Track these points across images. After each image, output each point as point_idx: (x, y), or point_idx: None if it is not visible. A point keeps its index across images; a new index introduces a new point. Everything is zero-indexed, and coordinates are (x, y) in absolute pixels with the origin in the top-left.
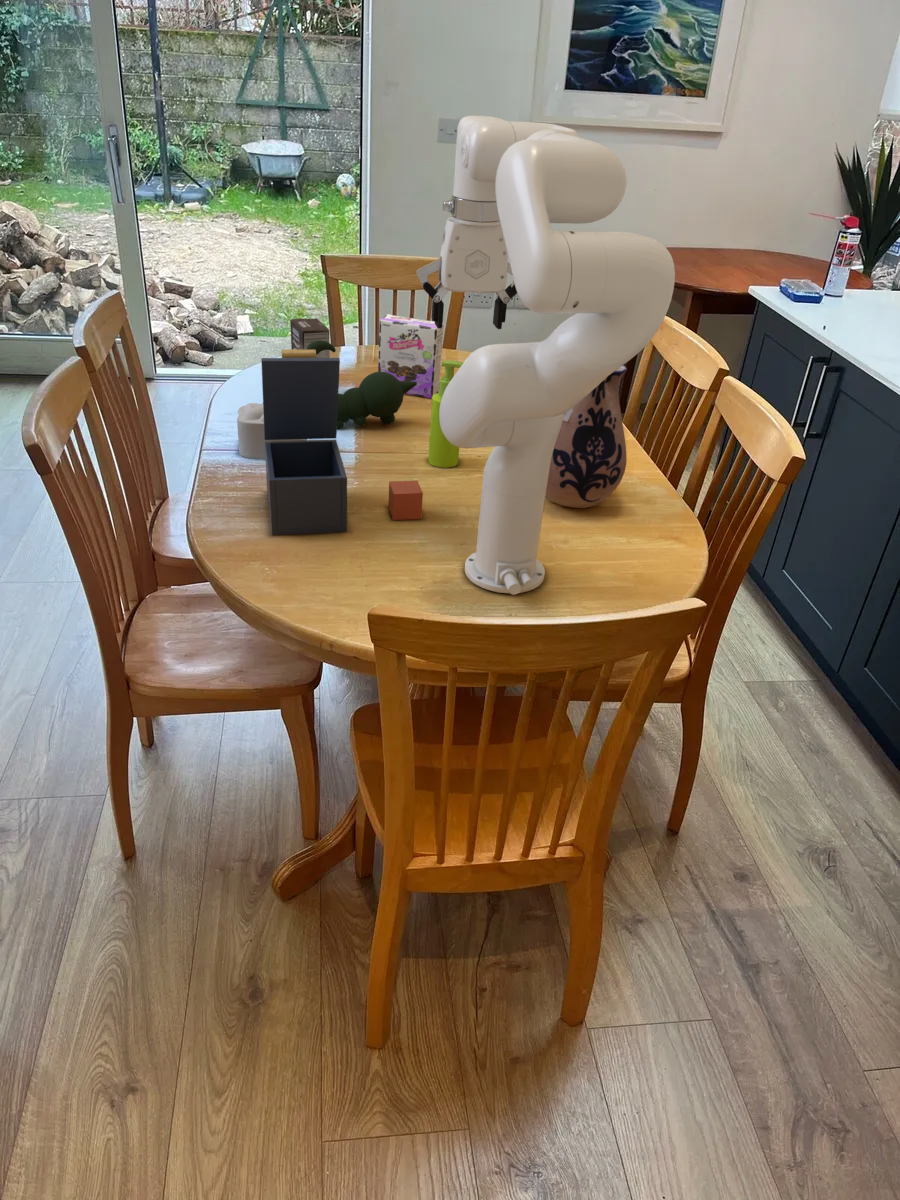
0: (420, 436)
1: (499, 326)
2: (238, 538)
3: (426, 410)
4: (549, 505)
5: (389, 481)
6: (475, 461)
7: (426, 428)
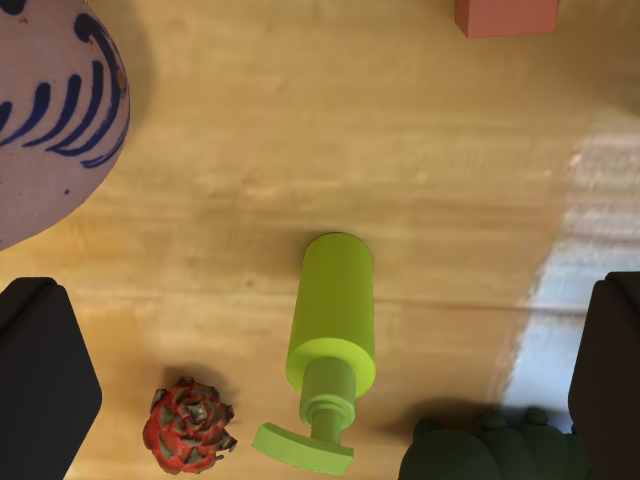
0: None
1: (29, 285)
2: None
3: None
4: None
5: (554, 31)
6: (262, 261)
7: None
